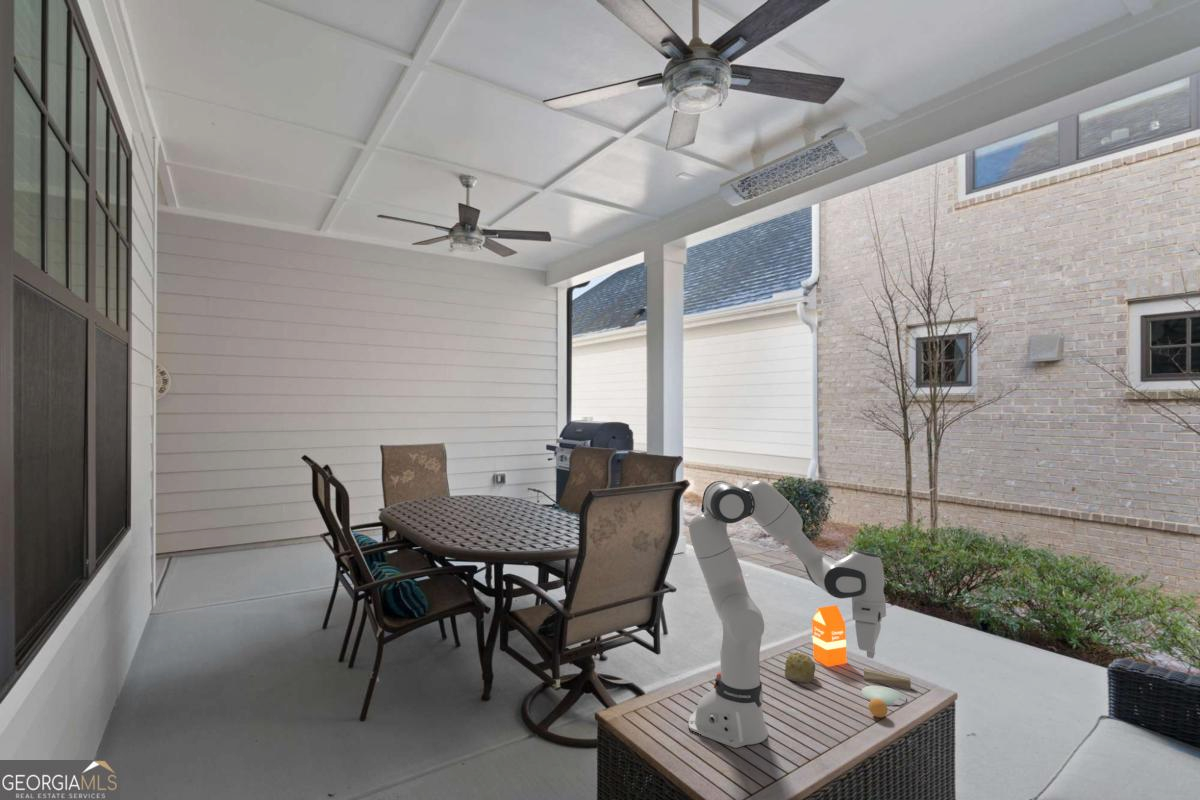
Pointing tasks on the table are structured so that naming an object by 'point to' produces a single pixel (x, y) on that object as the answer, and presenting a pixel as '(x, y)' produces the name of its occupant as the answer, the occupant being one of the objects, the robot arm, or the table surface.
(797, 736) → the table surface
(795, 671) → the rock
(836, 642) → the orange juice
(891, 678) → the bar
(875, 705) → the ball
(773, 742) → the table surface
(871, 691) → the disc
